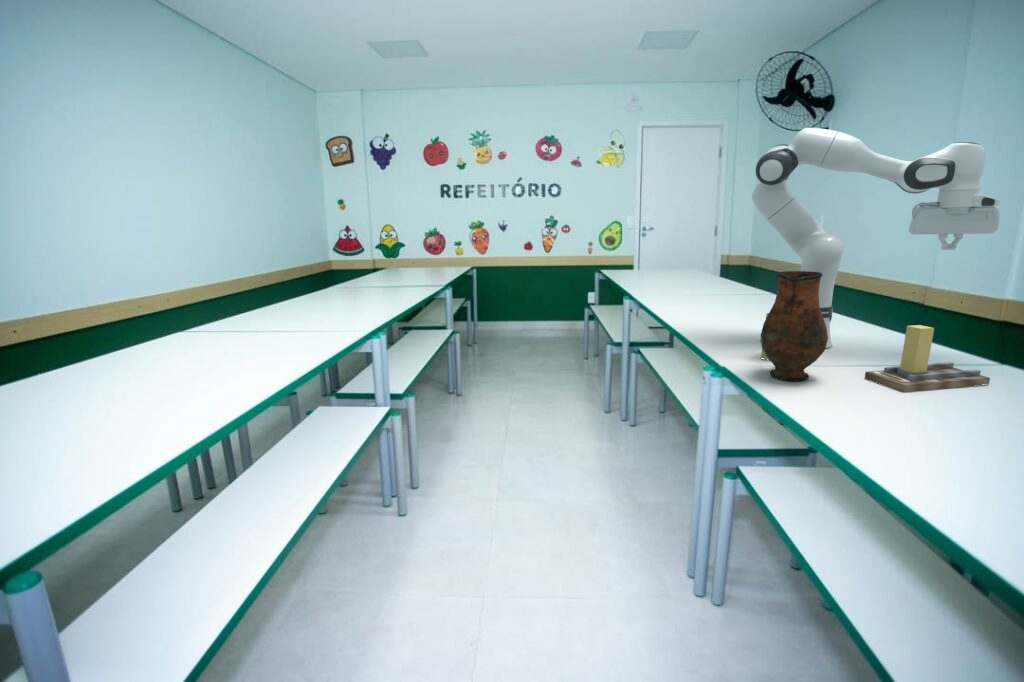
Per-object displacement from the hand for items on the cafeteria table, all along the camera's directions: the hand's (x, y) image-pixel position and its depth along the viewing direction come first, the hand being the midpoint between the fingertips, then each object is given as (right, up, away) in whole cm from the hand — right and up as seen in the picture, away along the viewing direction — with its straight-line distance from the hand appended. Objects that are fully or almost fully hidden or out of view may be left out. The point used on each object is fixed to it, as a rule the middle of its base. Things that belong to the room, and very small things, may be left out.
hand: (948, 249), depth 147 cm
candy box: (-44, -33, +16) cm, 57 cm away
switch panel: (-16, -38, -11) cm, 43 cm away
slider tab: (-20, -36, -12) cm, 43 cm away
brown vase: (-48, -37, -2) cm, 60 cm away
